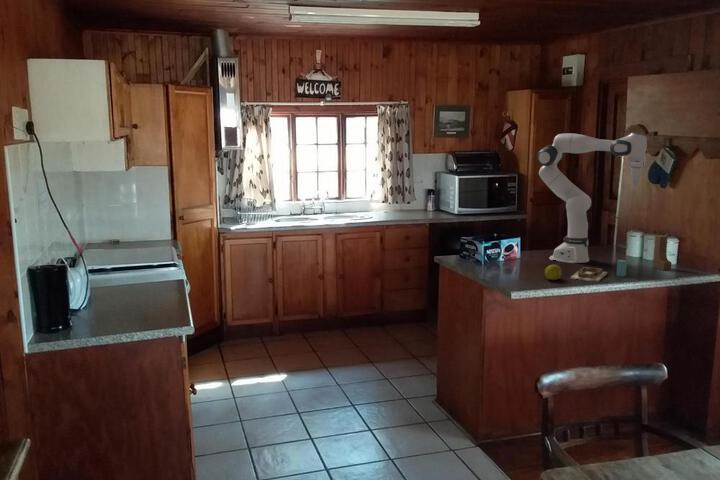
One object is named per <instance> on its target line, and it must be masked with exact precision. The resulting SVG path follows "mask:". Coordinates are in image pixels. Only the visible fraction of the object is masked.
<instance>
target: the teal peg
mask: <svg viewBox="0 0 720 480" xmlns="http://www.w3.org/2000/svg"><path fill="white" fill-rule="evenodd" d="M627 261H628V260H626V259H618V260H617V261H616V272H615V273H616V275H615V276H616V277H623V278H624V277H626V276H627V264H628V262H627Z"/></svg>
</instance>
